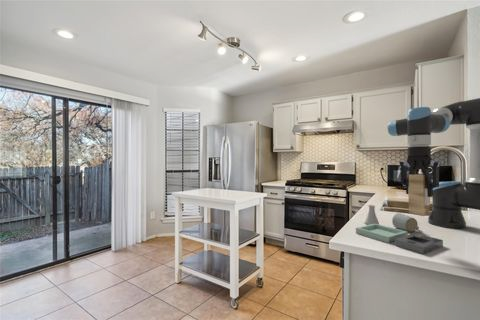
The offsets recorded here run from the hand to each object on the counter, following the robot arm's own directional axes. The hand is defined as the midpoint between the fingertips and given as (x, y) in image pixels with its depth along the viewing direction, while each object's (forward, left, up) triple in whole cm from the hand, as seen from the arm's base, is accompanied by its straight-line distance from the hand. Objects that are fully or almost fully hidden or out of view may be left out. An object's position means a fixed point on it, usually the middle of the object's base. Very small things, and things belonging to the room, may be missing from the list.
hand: (419, 203), depth 94 cm
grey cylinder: (-19, -14, -18) cm, 29 cm away
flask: (-14, -28, -17) cm, 36 cm away
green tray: (0, -15, -17) cm, 23 cm away
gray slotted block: (0, 0, -17) cm, 17 cm away
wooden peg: (0, 0, -4) cm, 4 cm away
